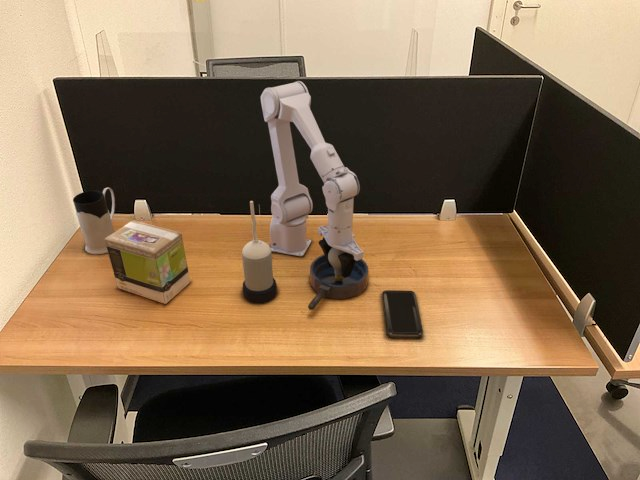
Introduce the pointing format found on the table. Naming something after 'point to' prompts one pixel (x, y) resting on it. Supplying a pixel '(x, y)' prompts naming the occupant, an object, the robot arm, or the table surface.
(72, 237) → the table surface
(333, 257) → the light bulb
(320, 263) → the pan
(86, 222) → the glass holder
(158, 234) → the tea box
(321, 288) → the pan handle
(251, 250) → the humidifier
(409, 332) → the phone
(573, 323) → the table surface
